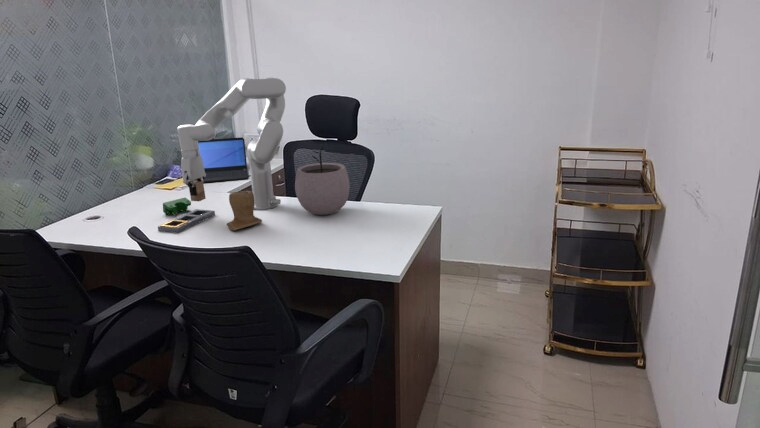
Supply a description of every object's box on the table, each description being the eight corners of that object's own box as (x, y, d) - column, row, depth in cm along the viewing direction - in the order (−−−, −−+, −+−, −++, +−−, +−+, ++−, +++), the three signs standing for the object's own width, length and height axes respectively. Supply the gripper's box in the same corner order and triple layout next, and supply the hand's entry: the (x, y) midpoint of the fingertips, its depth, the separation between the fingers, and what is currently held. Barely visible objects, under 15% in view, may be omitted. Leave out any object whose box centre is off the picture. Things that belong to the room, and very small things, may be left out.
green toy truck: (174, 224, 248) (166, 210, 242) (167, 219, 252) (159, 205, 245) (195, 209, 254) (188, 195, 248) (188, 204, 257) (181, 190, 251)
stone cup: (249, 219, 237) (246, 186, 233) (266, 224, 229) (262, 190, 225) (219, 228, 227) (215, 193, 222) (235, 233, 219) (231, 198, 214)
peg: (205, 198, 242) (202, 181, 239) (199, 201, 238) (196, 183, 235) (197, 198, 243) (194, 180, 241) (191, 200, 239) (188, 183, 237)
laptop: (188, 185, 302) (182, 151, 296) (193, 171, 337) (188, 140, 331) (248, 180, 309) (244, 146, 303) (247, 166, 344) (244, 136, 338)
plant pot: (313, 203, 256) (308, 141, 247) (359, 207, 248) (356, 142, 239) (287, 219, 235) (281, 151, 226) (337, 223, 227) (332, 153, 218)
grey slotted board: (215, 214, 245) (214, 210, 244) (177, 232, 223) (176, 227, 222) (197, 213, 248) (196, 208, 248) (158, 230, 226) (157, 225, 225)
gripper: (196, 149, 243) (202, 188, 248) (170, 157, 228) (177, 198, 233) (210, 149, 240) (216, 189, 246) (184, 157, 225) (192, 199, 231)
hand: (197, 193), depth 239 cm, fingers closed on peg, 4 cm apart
